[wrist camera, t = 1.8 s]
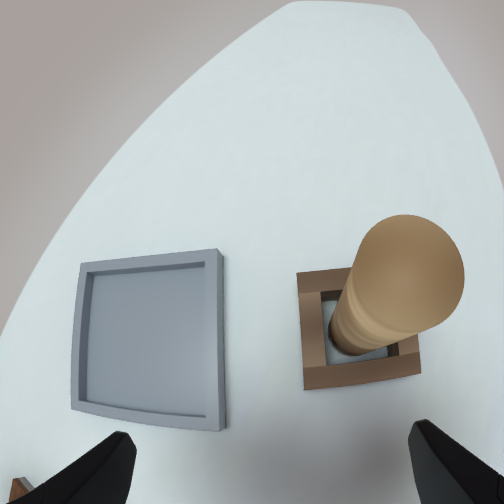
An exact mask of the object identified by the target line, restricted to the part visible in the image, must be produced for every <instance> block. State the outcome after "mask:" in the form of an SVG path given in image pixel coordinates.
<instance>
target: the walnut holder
mask: <svg viewBox="0 0 504 504" xmlns="http://www.w3.org/2000/svg"><path fill="white" fill-rule="evenodd" d="M351 268H352V267H350V268H340V269H330V270H320V271H310V272H300V273H297V285H298V298H299V311H300V325H301V340H302V357H303V376H304V390H312V389H323V388H333V387H341V386H349V385H357V384H364V383H371V382H377V381H383V380H389V379H395V378H400V377H405V376H410V375H415V374H420V373H421V363H420V352H419V343H418V334H415V335H413V336H410V337H408V338H405V339H403V340H400V341H398V342H395V343H393V344H390V345H387V350H388V357H387V358H381V359H375V360H368V361H361V362H353V363H345V364H336V365H327V366H326V354H325V340H324V328H323V316H322V305H321V301H331V300H339V298H340V296H341V293H342V291H343V288H344V286H345V283H346V281H347V278H348V276H349V273H350V271H351Z"/></svg>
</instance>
